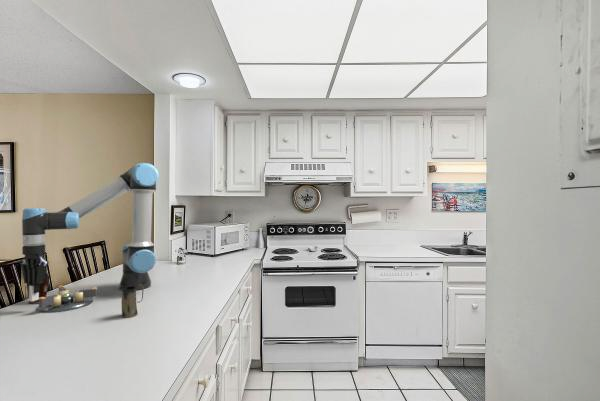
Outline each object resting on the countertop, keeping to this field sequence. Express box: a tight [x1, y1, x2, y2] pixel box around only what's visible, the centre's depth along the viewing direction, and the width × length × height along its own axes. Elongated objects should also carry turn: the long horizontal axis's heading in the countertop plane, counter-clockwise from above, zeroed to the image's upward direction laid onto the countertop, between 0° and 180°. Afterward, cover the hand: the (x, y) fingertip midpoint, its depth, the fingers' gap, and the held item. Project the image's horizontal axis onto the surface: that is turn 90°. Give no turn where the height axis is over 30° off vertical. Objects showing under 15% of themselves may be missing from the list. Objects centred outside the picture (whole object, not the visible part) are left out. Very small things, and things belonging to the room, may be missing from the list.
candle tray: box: [37, 292, 94, 313], centre depth 145 cm, size 20×20×5 cm
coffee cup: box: [25, 272, 50, 305], centre depth 149 cm, size 9×8×13 cm
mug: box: [121, 285, 144, 319], centre depth 131 cm, size 8×6×12 cm
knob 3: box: [74, 286, 98, 302], centre depth 147 cm, size 8×4×5 cm, turn 107°
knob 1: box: [38, 293, 61, 307], centre depth 138 cm, size 8×4×5 cm, turn 167°
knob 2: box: [58, 284, 70, 297], centre depth 150 cm, size 8×4×5 cm, turn 47°
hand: (34, 300), depth 137 cm, fingers closed
